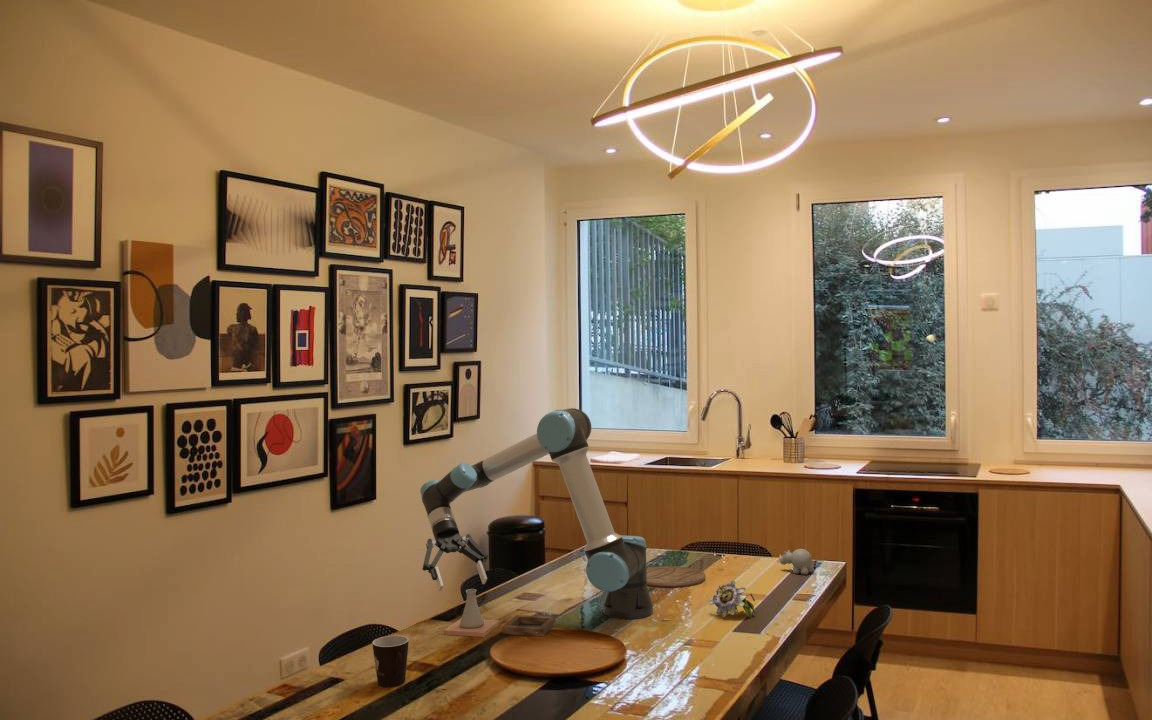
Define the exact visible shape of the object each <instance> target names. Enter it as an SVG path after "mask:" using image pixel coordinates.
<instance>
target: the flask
mask: <svg viewBox="0 0 1152 720" xmlns="http://www.w3.org/2000/svg"><path fill="white" fill-rule="evenodd" d="M465 593H466V600H465V601H466V602H465V606H464V609H463V612H462V616H461V617H460V619H461V622H460V627H465V628H476V627H480V626H482V625H484V621H483V620H484V618H483V615H482V613H481V610H480V607H479V604H478V602H477V596H476V595H477V594H476V593H477V589H474V588H469V589H466V590H465Z"/></svg>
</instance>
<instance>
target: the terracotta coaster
mask: <svg viewBox="0 0 1152 720" xmlns="http://www.w3.org/2000/svg"><path fill="white" fill-rule="evenodd" d="M483 621H484V625H482V626H480V627H476V628H465V627H460V622H461V618H459V619H458V620H456V621H455V622H454V623H452V624H450V625H449V626H448V627H446V628H444V630H443V635H446V636H447V635H449V636H462V637H477V638H485V637H486V636H487V635H488V634H490V633H491V632H492V631H493V630H494V629H496V628H497V627H498V626H500V620H498V619H497V620H495V619H483Z"/></svg>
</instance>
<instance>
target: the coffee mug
mask: <svg viewBox="0 0 1152 720" xmlns="http://www.w3.org/2000/svg"><path fill="white" fill-rule="evenodd" d="M409 641H410V638H408V637H407V636H404V635H386V636H381V637H378V638H375V639H374V640H372V650H373V659H374V666H375V672H376V679H377V685H378V686H379V687H381V688H385V689H387V688H396V687H400V686H402V685H404V684H405V683H406V674H407V666H408V665H407V664H408V663H407V662H408V654H409V653H408V652H409Z"/></svg>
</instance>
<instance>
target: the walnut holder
mask: <svg viewBox="0 0 1152 720" xmlns="http://www.w3.org/2000/svg"><path fill="white" fill-rule="evenodd" d="M556 618H557V617H555V616H543V615H529V614H528V615H523V614H515V615H514V616H513V617H512V618H511V619H510V620H508V621H507V622H506V623H505V624H504V625H502V626H501V628H502V629H501V632H502V633H501V634H503V635H515V636H517V635H518V636H530V637H544V636H545V635H546V634H547V633H548V632H549V631H550V630H551V629H553V627H554V626H556V624H557V623H556ZM520 624H524V626H522V625H520ZM525 624H526V625H540V626H538V627H537V626H536V627H535V626H525ZM536 632H537V633H536Z"/></svg>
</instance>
